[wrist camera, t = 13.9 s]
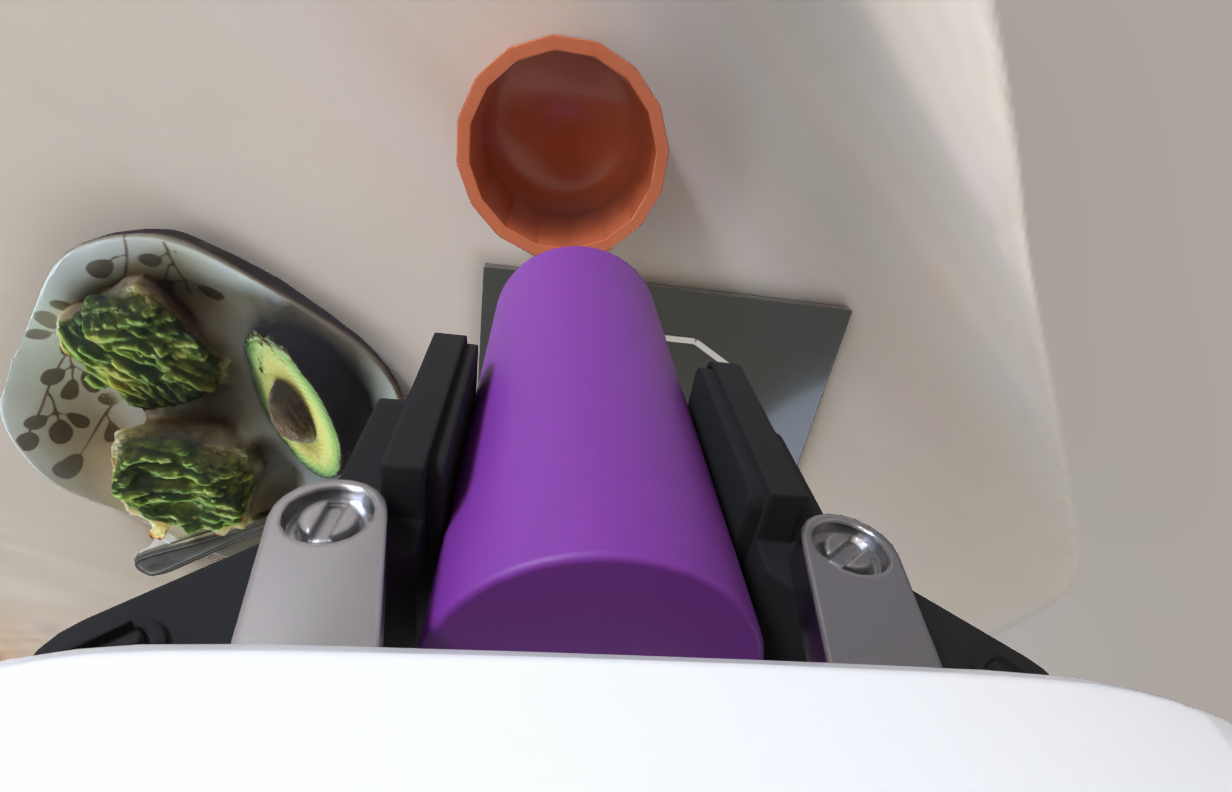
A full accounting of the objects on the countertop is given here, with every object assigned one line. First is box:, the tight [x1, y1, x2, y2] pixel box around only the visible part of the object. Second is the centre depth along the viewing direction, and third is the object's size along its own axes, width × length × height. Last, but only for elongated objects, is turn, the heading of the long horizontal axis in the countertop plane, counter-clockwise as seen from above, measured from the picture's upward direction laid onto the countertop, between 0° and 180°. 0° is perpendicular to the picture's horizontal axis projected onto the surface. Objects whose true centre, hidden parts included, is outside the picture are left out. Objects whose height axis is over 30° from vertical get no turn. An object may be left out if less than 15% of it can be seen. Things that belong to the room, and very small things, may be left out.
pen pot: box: [456, 34, 669, 256], centre depth 24 cm, size 7×7×6 cm
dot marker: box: [417, 246, 764, 660], centre depth 12 cm, size 4×4×11 cm
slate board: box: [478, 263, 852, 465], centre depth 34 cm, size 16×18×1 cm
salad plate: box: [0, 229, 404, 576], centre depth 31 cm, size 19×18×5 cm
